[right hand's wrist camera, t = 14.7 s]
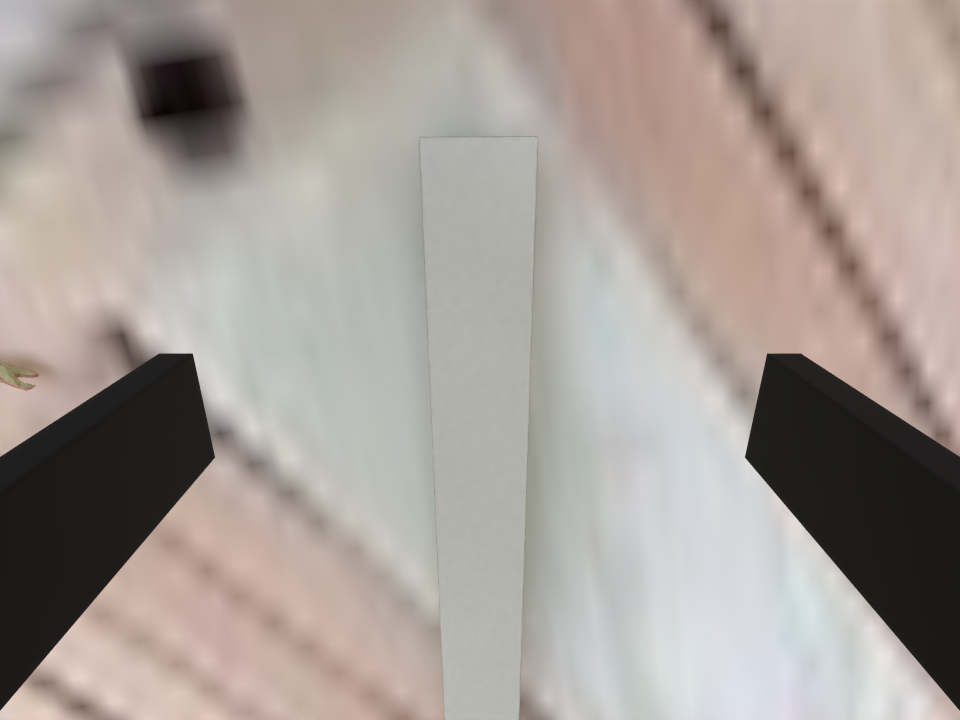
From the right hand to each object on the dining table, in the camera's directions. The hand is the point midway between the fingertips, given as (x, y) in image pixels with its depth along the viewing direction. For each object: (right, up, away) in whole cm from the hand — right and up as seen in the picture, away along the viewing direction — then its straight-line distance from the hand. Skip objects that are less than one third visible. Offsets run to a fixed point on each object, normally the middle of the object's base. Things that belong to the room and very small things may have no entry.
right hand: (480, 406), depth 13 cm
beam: (0, -13, +31) cm, 34 cm away
